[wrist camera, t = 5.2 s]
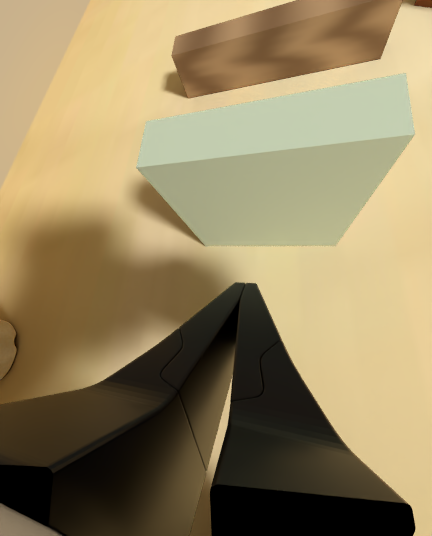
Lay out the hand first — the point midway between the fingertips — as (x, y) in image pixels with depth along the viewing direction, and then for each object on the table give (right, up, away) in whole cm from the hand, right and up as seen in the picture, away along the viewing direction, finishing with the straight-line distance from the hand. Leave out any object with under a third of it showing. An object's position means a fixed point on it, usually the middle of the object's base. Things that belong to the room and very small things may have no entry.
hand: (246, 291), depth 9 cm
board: (+4, +21, +13) cm, 25 cm away
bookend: (+3, +8, +10) cm, 14 cm away
